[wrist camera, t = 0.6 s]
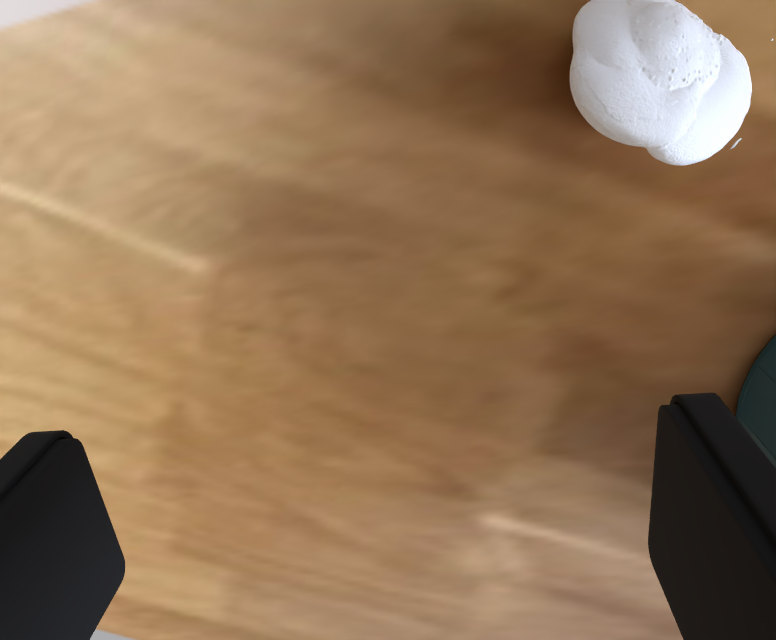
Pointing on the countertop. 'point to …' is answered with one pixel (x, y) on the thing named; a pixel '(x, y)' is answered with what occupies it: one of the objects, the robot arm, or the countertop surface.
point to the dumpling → (658, 78)
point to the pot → (761, 402)
